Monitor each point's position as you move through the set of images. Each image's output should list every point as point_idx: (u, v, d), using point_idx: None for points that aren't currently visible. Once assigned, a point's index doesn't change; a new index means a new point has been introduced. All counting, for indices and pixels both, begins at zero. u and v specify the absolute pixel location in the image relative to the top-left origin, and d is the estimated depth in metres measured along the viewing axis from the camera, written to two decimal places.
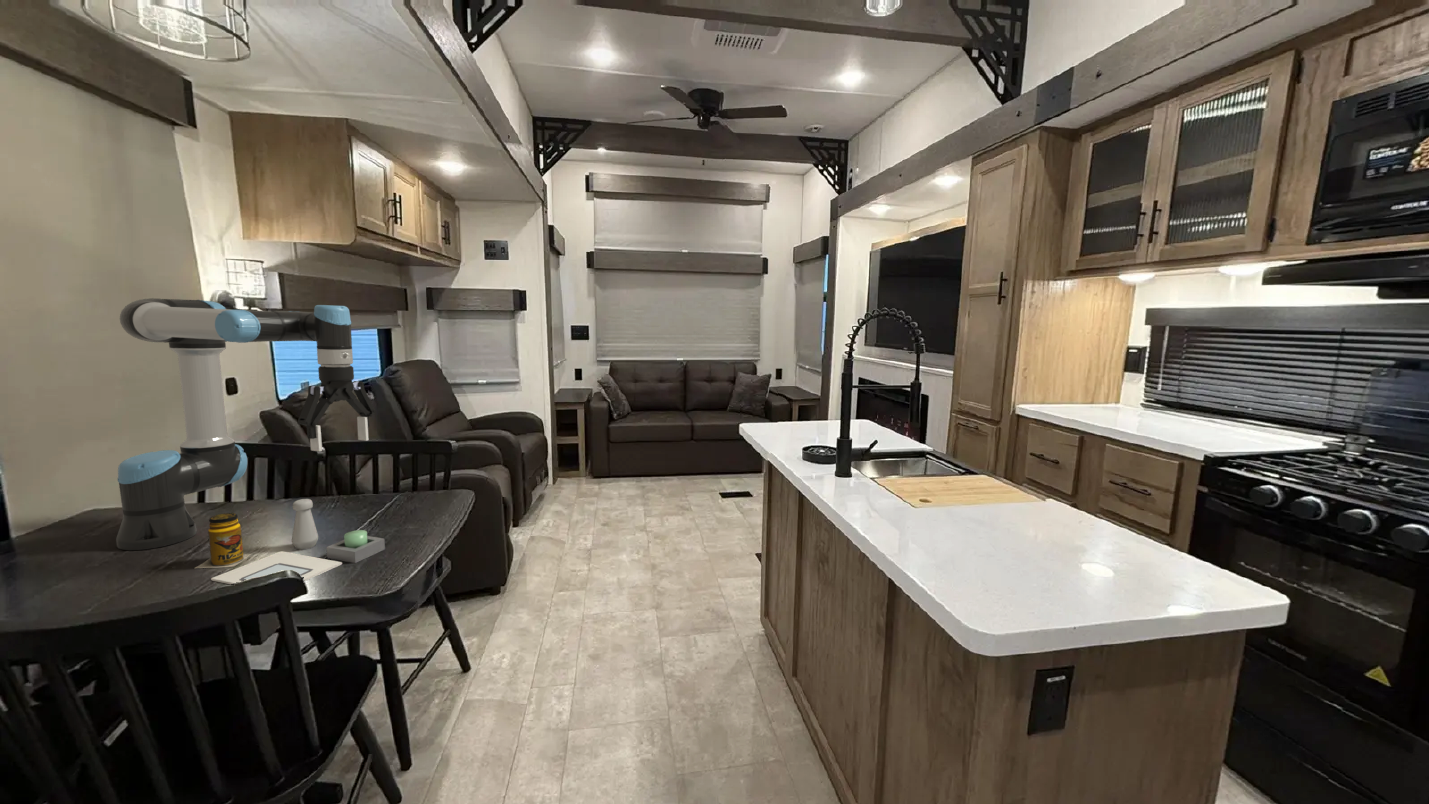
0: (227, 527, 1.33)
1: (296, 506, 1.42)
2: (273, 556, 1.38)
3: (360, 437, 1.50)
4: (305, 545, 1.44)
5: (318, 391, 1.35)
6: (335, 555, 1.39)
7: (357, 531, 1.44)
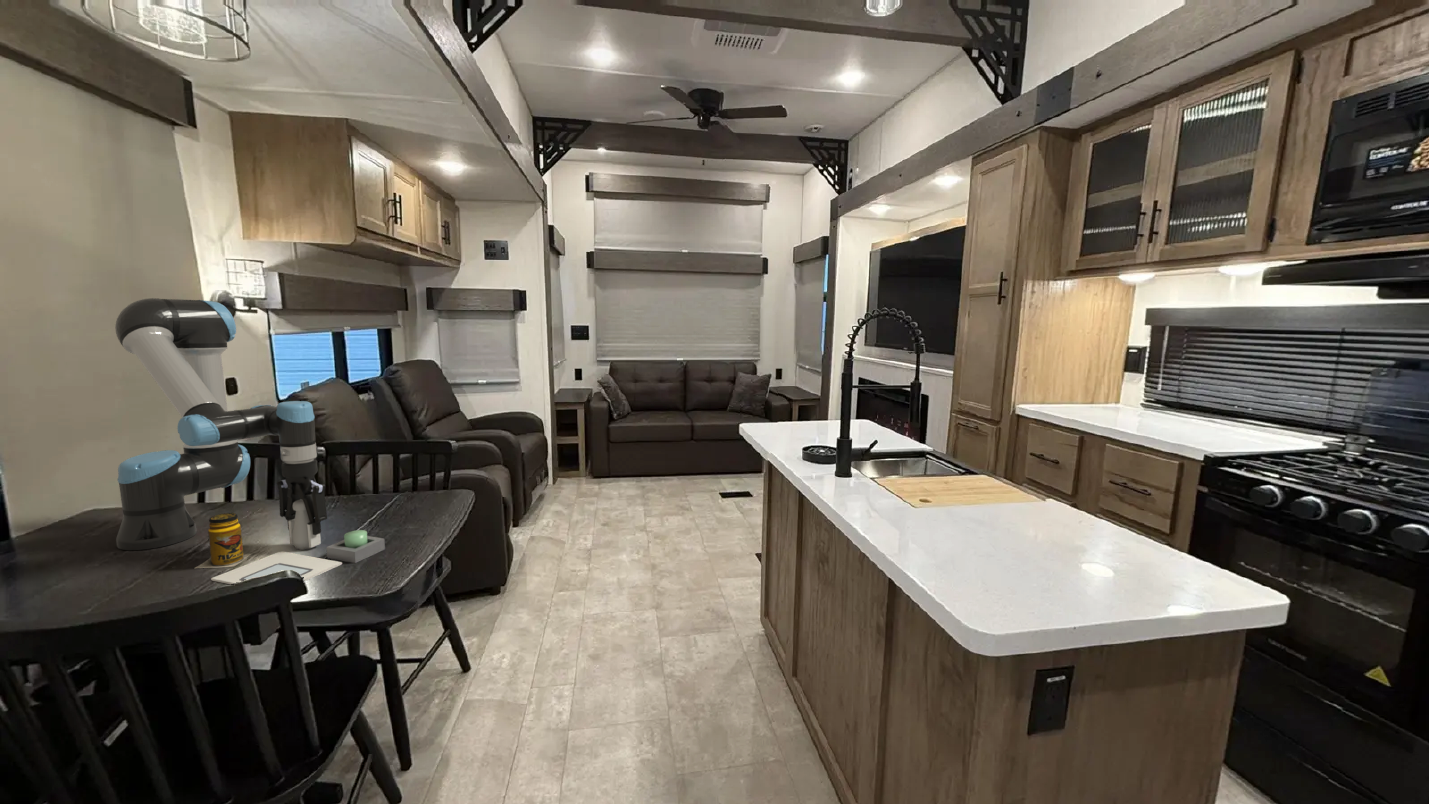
0: (227, 527, 1.33)
1: (296, 506, 1.42)
2: (273, 556, 1.38)
3: None
4: (305, 545, 1.44)
5: (279, 485, 1.44)
6: (335, 555, 1.39)
7: (357, 531, 1.44)
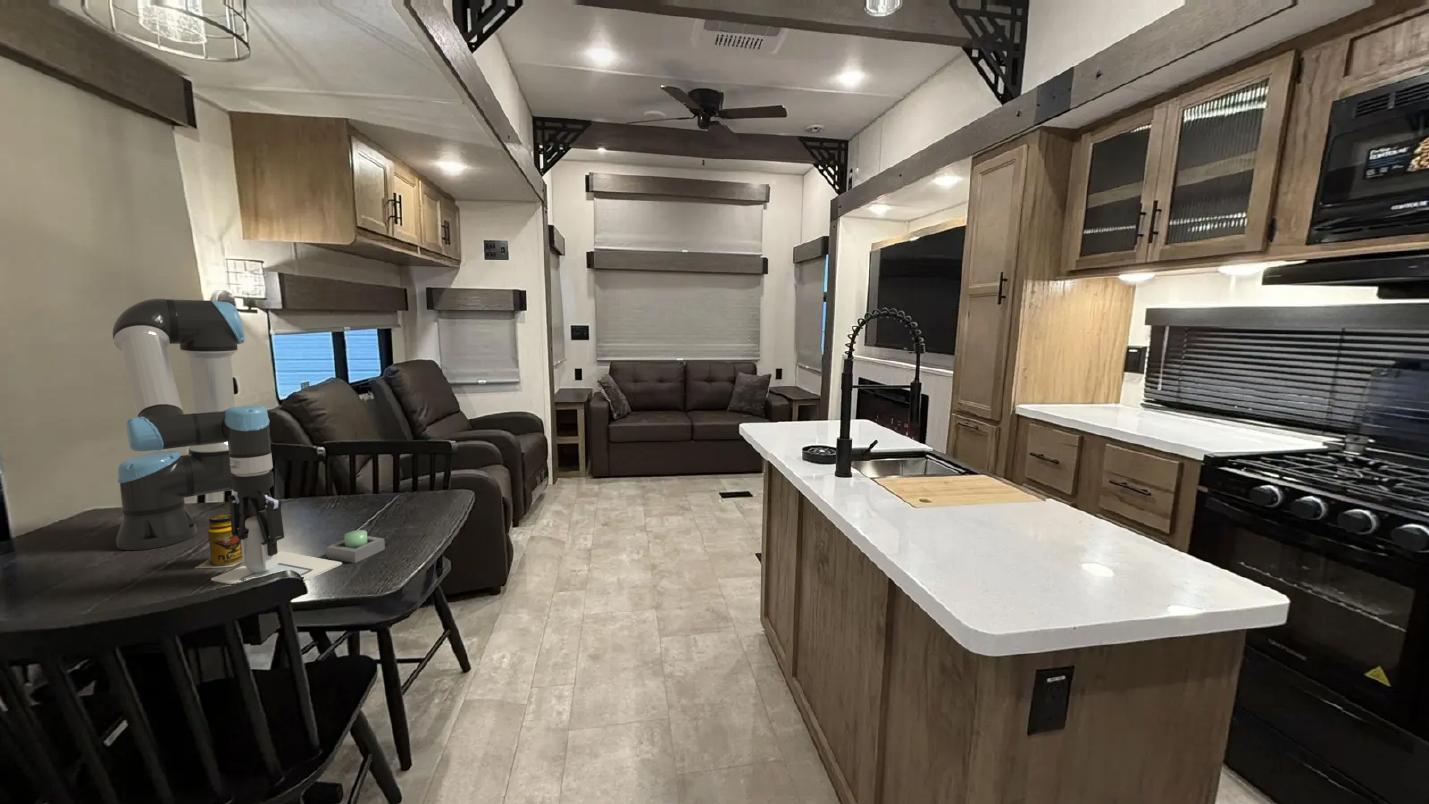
0: (227, 527, 1.33)
1: (249, 524, 1.26)
2: None
3: None
4: (259, 568, 1.28)
5: (230, 500, 1.28)
6: (335, 555, 1.39)
7: (357, 531, 1.44)
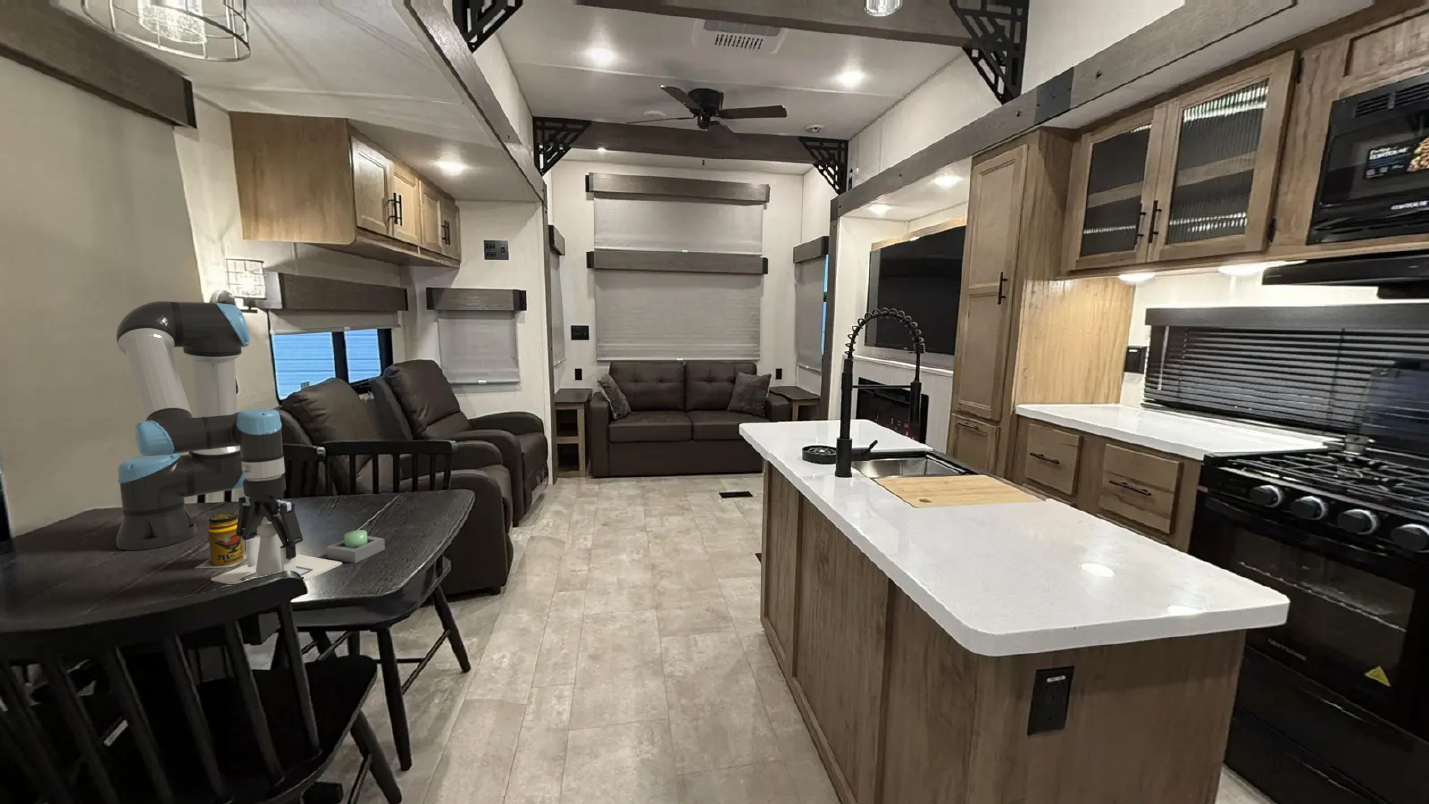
0: (227, 527, 1.33)
1: (261, 531, 1.24)
2: None
3: None
4: None
5: (241, 502, 1.26)
6: (335, 555, 1.39)
7: (357, 531, 1.44)
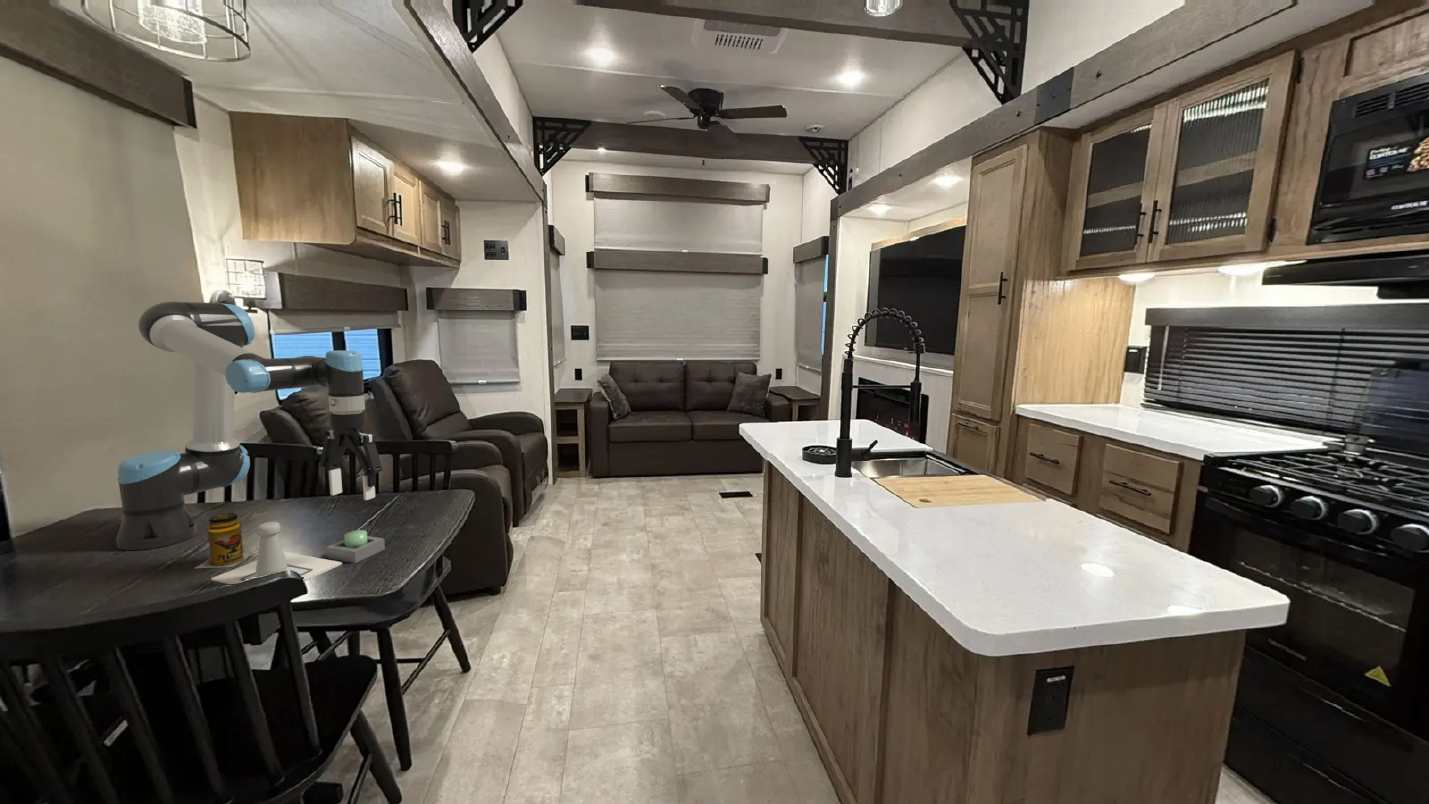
0: (227, 527, 1.33)
1: (261, 531, 1.24)
2: None
3: None
4: None
5: (325, 436, 1.39)
6: (335, 555, 1.39)
7: (357, 531, 1.44)
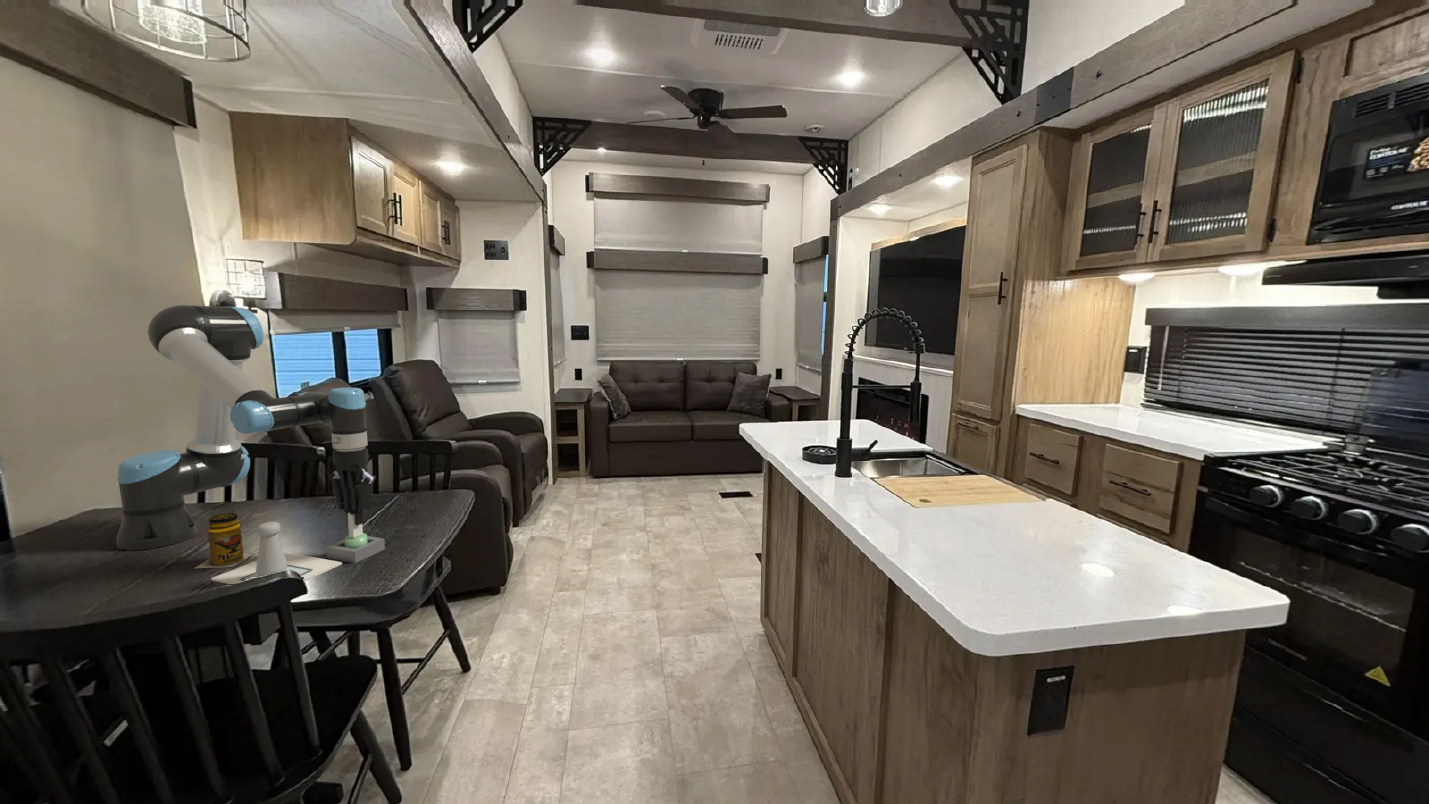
0: (227, 527, 1.33)
1: (261, 531, 1.24)
2: None
3: None
4: None
5: (331, 477, 1.40)
6: (335, 555, 1.39)
7: None
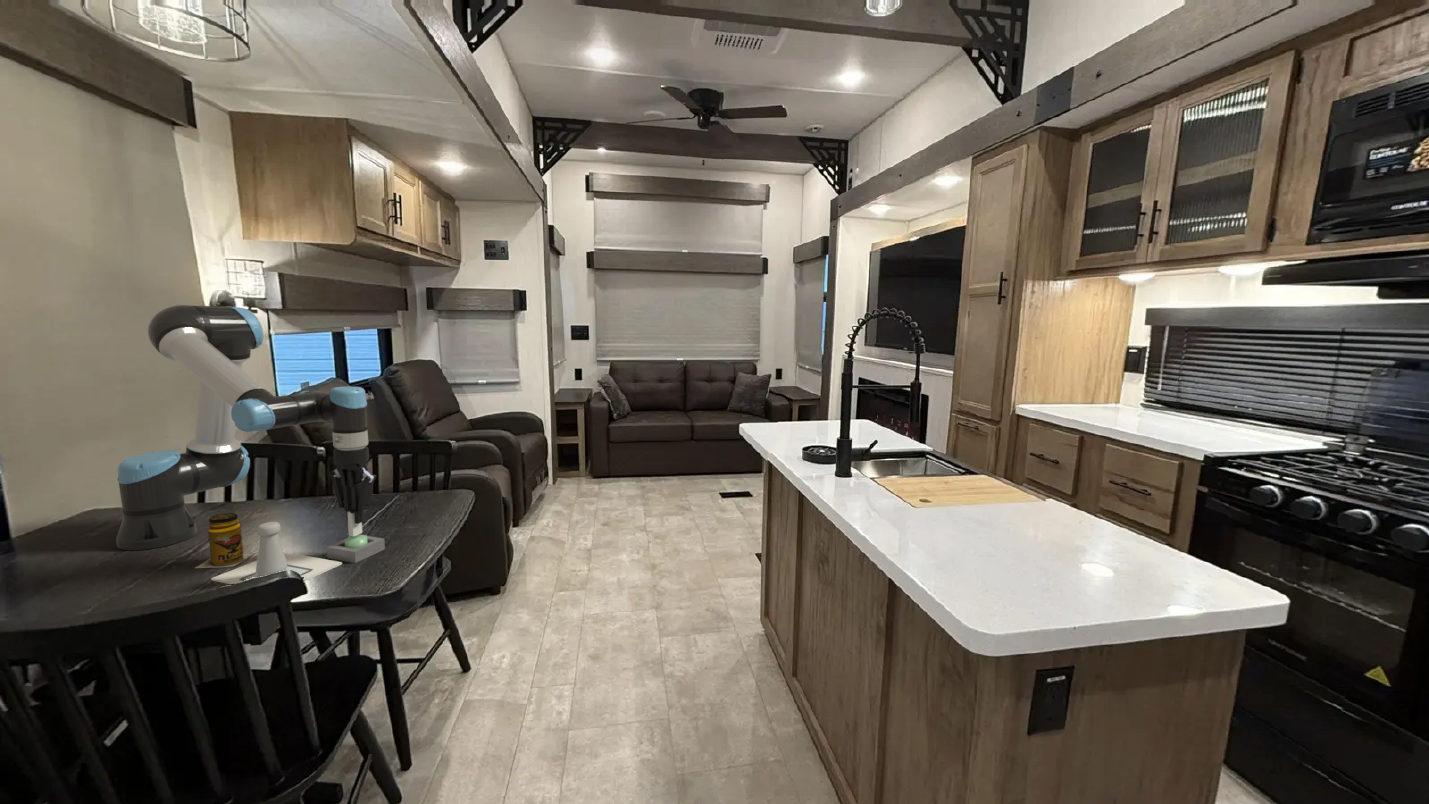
0: (227, 527, 1.33)
1: (261, 531, 1.24)
2: None
3: None
4: None
5: (332, 475, 1.40)
6: (335, 555, 1.39)
7: (357, 536, 1.44)
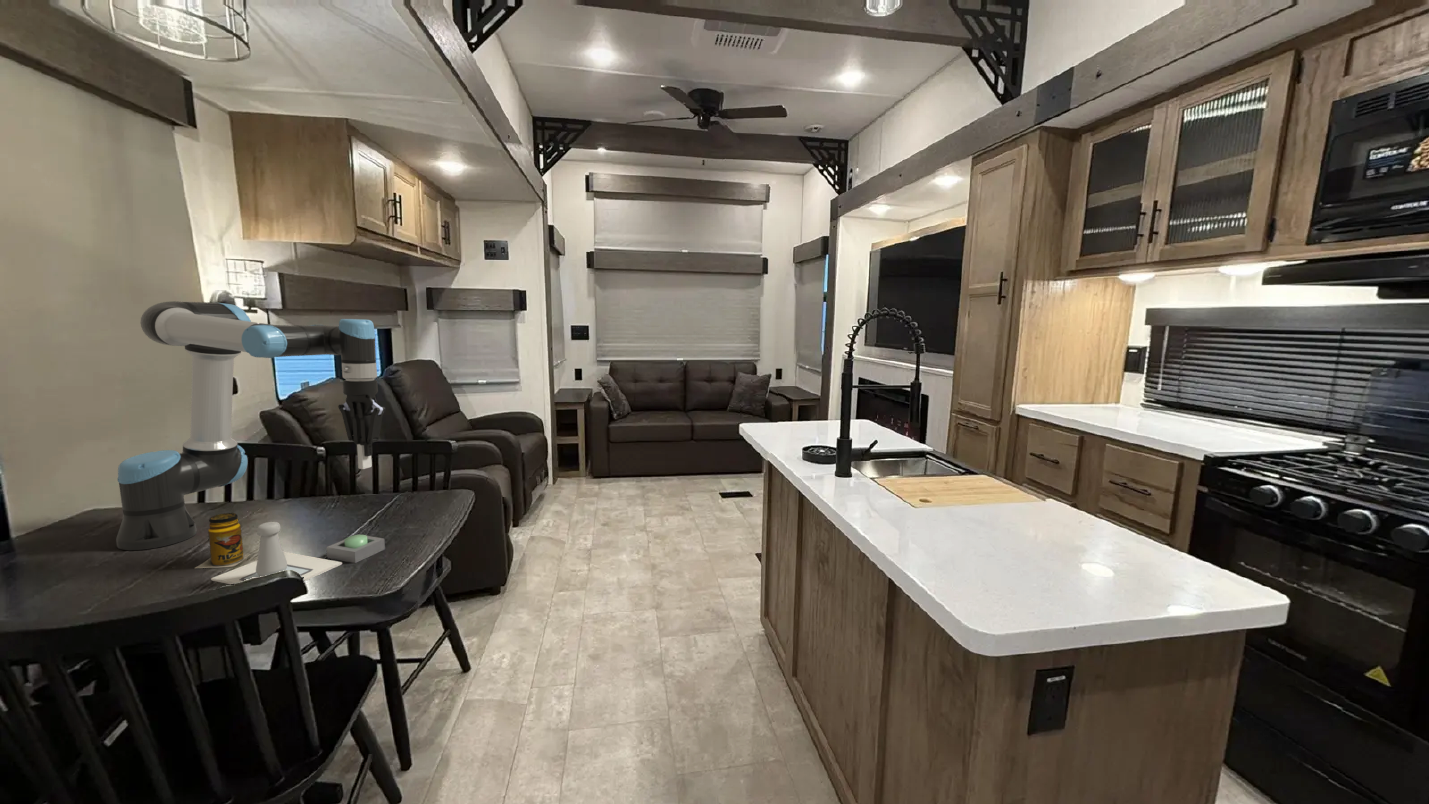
0: (227, 527, 1.33)
1: (261, 531, 1.24)
2: None
3: None
4: None
5: (341, 408, 1.41)
6: (335, 555, 1.39)
7: (357, 536, 1.44)
